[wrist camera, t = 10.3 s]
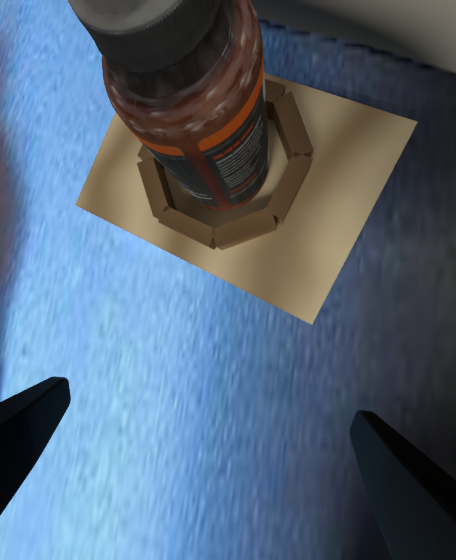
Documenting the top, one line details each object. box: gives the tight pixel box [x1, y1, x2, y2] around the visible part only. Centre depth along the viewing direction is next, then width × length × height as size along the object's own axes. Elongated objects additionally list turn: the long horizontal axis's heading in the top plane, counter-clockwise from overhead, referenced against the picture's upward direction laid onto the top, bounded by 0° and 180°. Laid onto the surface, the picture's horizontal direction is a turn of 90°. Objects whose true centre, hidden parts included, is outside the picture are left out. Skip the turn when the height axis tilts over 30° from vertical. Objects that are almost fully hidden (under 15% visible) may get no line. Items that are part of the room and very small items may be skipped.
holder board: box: [76, 73, 418, 325], centre depth 16 cm, size 20×14×3 cm
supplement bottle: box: [68, 0, 269, 210], centre depth 11 cm, size 6×6×11 cm
